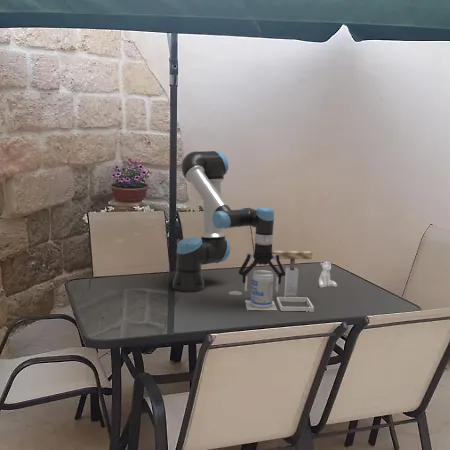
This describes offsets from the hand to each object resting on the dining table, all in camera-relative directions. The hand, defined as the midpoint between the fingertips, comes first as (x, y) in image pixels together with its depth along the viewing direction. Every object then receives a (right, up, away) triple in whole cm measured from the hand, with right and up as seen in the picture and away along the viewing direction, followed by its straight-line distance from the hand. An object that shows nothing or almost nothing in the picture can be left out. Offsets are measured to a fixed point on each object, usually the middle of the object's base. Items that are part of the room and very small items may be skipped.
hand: (261, 290), depth 263 cm
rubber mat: (0, -7, +1) cm, 7 cm away
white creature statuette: (+34, -2, +37) cm, 50 cm away
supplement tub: (0, -7, +1) cm, 7 cm away
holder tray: (+15, -7, +2) cm, 17 cm away
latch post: (+14, -5, +13) cm, 20 cm away
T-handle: (+12, +9, +10) cm, 18 cm away
